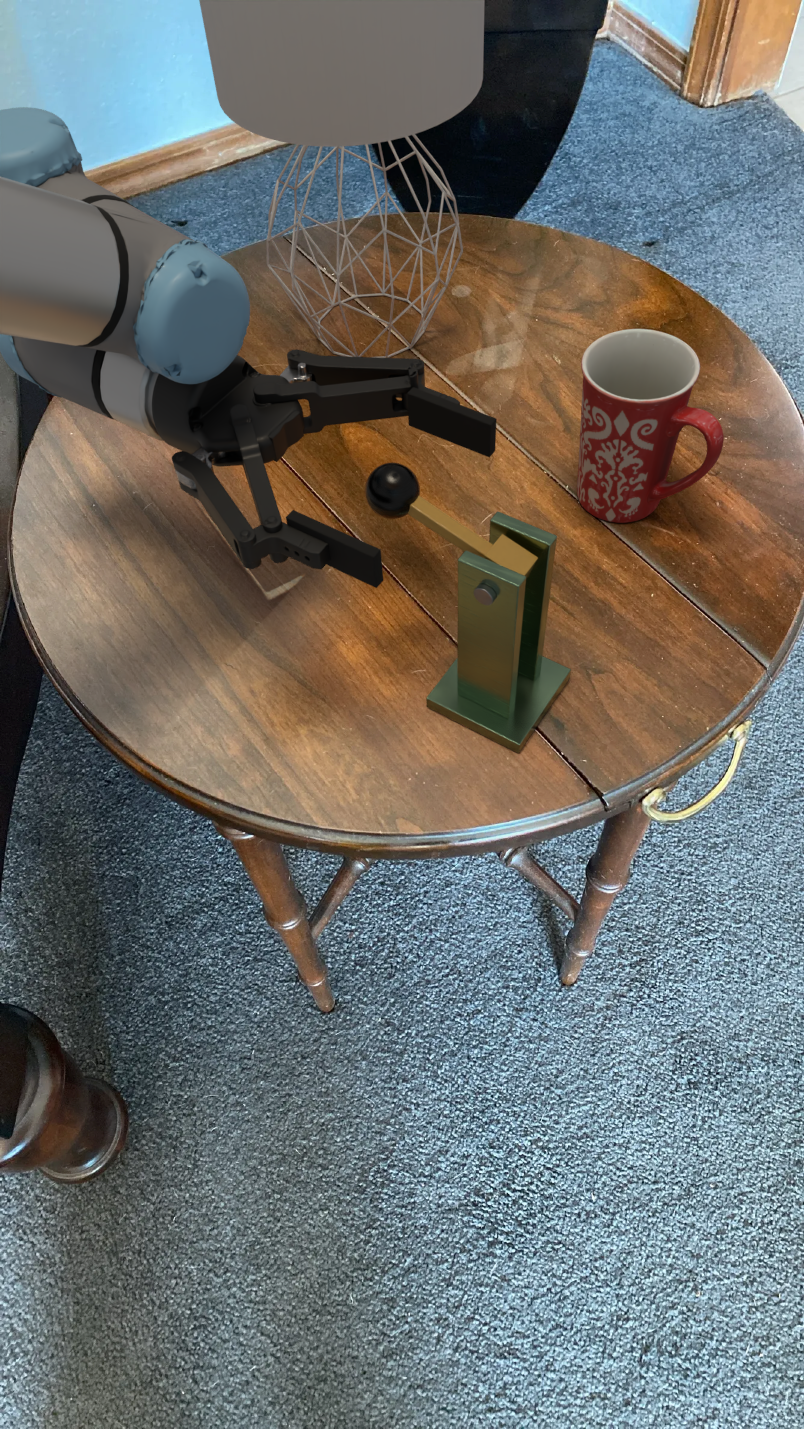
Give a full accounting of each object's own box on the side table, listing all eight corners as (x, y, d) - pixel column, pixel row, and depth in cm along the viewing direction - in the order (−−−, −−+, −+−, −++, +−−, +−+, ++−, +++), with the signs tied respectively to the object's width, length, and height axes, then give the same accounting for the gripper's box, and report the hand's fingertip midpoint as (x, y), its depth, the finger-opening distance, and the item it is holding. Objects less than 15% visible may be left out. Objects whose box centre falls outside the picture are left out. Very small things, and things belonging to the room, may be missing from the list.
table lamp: (226, 312, 103) (117, -187, 70) (403, 242, 109) (379, -248, 76) (331, 425, 92) (260, -104, 59) (521, 339, 98) (554, -184, 65)
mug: (543, 494, 86) (556, 363, 75) (611, 445, 89) (634, 312, 78) (655, 570, 80) (688, 441, 69) (724, 515, 83) (765, 383, 72)
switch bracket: (426, 706, 74) (419, 563, 61) (479, 636, 77) (485, 486, 64) (518, 753, 71) (532, 614, 58) (570, 678, 74) (594, 530, 61)
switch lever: (350, 509, 64) (358, 474, 61) (380, 477, 66) (389, 441, 63) (502, 611, 63) (518, 581, 60) (529, 576, 65) (546, 545, 62)
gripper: (296, 344, 77) (531, 434, 70) (77, 540, 66) (330, 671, 59) (282, 255, 71) (538, 343, 64) (38, 454, 60) (315, 588, 53)
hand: (439, 500), depth 61 cm, fingers open, 13 cm apart
